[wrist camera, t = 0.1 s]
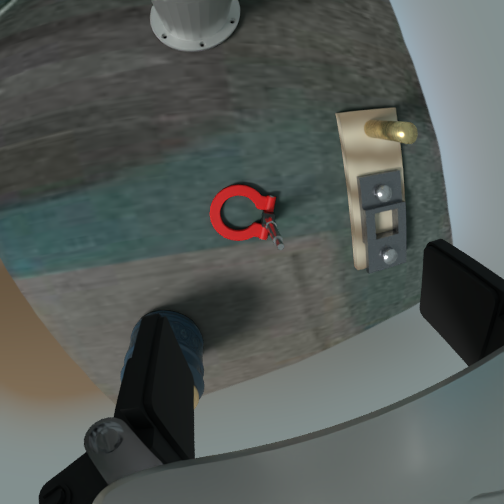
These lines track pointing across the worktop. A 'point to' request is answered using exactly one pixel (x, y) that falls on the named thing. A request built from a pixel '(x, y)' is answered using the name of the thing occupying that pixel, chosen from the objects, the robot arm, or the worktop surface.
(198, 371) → the canister
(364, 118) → the jig board
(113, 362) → the worktop surface
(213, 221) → the tow hook
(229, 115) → the worktop surface
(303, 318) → the worktop surface
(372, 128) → the pin
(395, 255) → the riveted slotted plate
